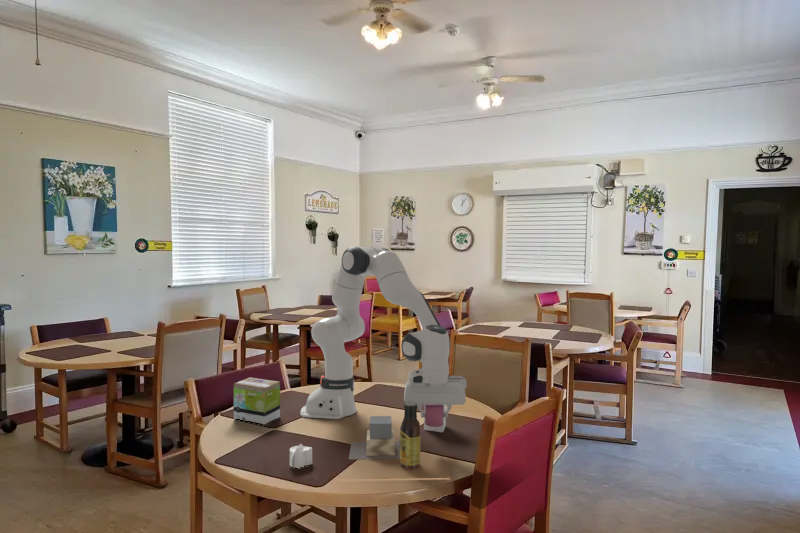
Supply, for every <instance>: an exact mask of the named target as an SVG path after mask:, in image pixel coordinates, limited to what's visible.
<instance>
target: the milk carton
mask: <svg viewBox="0 0 800 533" xmlns="http://www.w3.org/2000/svg"><path fill="white" fill-rule="evenodd" d="M425 405H426V404H423V406H424V407H423V408H424V410H423V411H425ZM443 406H444V411H446V409H447V405H443ZM423 418H424V419H423V421H424V422H423V428H424V429H423V430H424V431H430V432H436V433H444V432H445V429H446V425H447V424H446V423H447V422H446V421H447V420H446V419H447V418H443V425H442V426H440V427H430V426H427V425H426V424H425V417H423Z"/></svg>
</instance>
